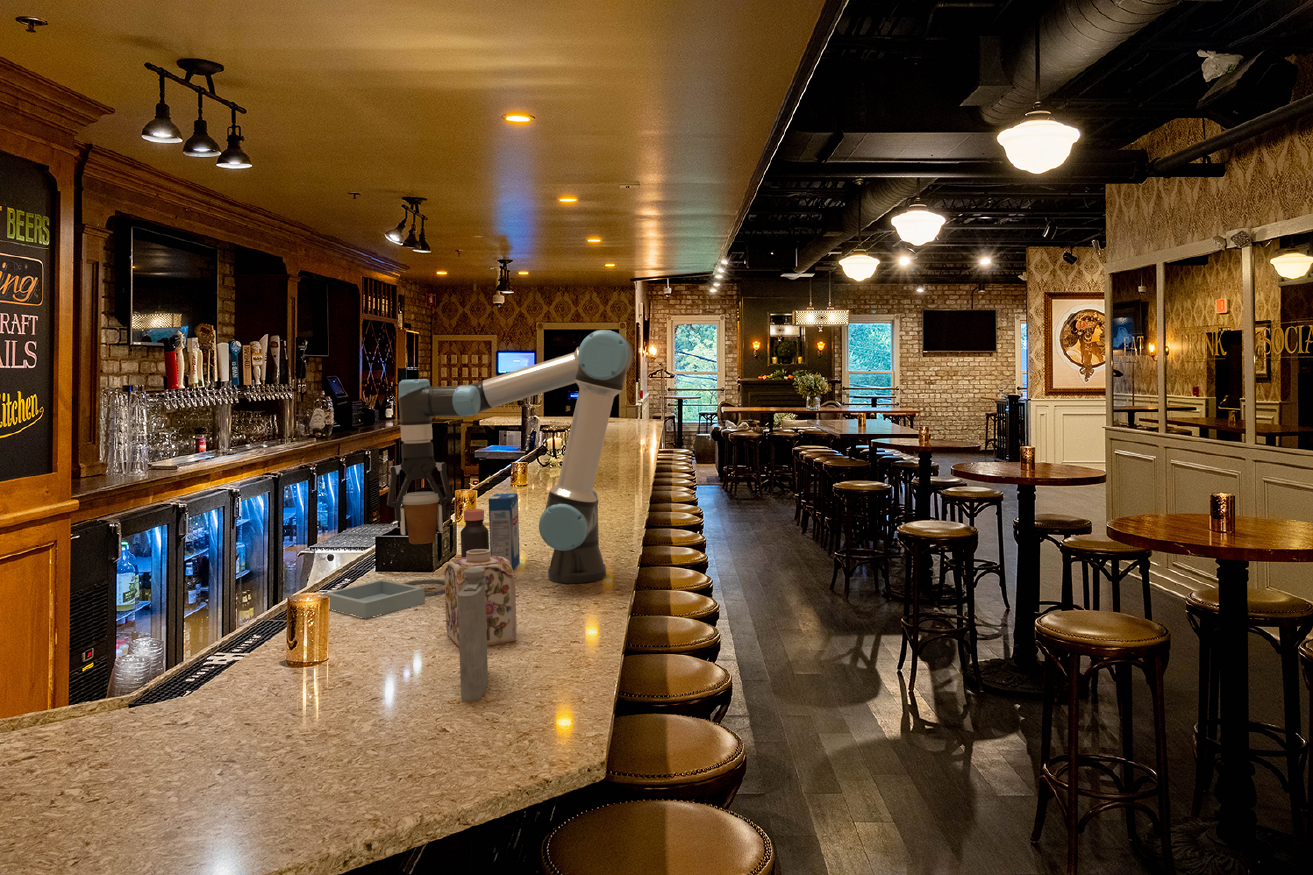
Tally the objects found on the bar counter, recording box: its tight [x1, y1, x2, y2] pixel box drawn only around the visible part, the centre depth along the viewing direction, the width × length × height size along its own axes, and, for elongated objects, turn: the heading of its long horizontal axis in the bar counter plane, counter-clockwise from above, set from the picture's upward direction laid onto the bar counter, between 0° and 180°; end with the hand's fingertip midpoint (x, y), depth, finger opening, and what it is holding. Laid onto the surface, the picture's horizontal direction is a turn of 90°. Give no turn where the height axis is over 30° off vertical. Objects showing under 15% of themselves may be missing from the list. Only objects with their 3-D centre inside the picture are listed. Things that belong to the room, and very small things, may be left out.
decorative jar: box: [443, 549, 517, 648], centre depth 170 cm, size 12×12×18 cm
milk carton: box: [488, 492, 521, 572], centre depth 234 cm, size 10×6×20 cm, turn 179°
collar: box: [402, 578, 445, 597], centre depth 211 cm, size 15×15×1 cm
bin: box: [323, 578, 426, 620], centre depth 197 cm, size 16×16×4 cm
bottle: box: [460, 508, 490, 558], centre depth 209 cm, size 7×7×20 cm
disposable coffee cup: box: [402, 491, 440, 545], centre depth 210 cm, size 10×10×12 cm
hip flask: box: [457, 568, 489, 703], centre depth 144 cm, size 16×4×20 cm, turn 8°
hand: (421, 532), depth 210 cm, fingers closed on disposable coffee cup, 8 cm apart
